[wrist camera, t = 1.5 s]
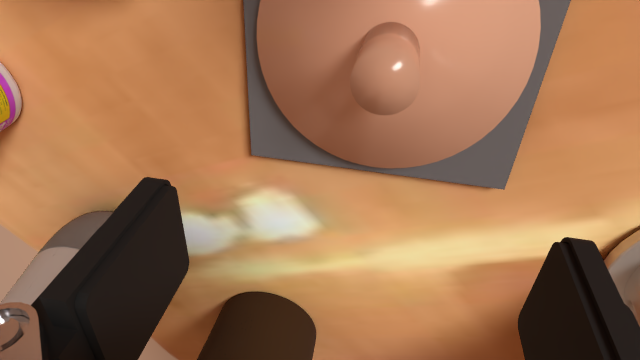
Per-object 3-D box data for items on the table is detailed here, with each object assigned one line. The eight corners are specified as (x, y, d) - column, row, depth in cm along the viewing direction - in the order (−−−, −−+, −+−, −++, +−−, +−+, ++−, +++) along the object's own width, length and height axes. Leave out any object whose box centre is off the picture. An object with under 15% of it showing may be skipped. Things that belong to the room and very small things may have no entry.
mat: (502, 182, 29) (504, 189, 29) (254, 149, 32) (251, 154, 31) (609, -130, 20) (616, -130, 19) (241, -149, 22) (235, -150, 21)
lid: (493, 174, 28) (506, 230, 24) (265, 144, 30) (238, 191, 26) (582, -105, 20) (630, -97, 15) (256, -123, 22) (214, -121, 17)
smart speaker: (116, 182, 36) (-23, 325, 24) (195, 257, 39) (105, 414, 28) (55, 225, 40) (-87, 364, 29) (131, 289, 44) (31, 436, 32)
